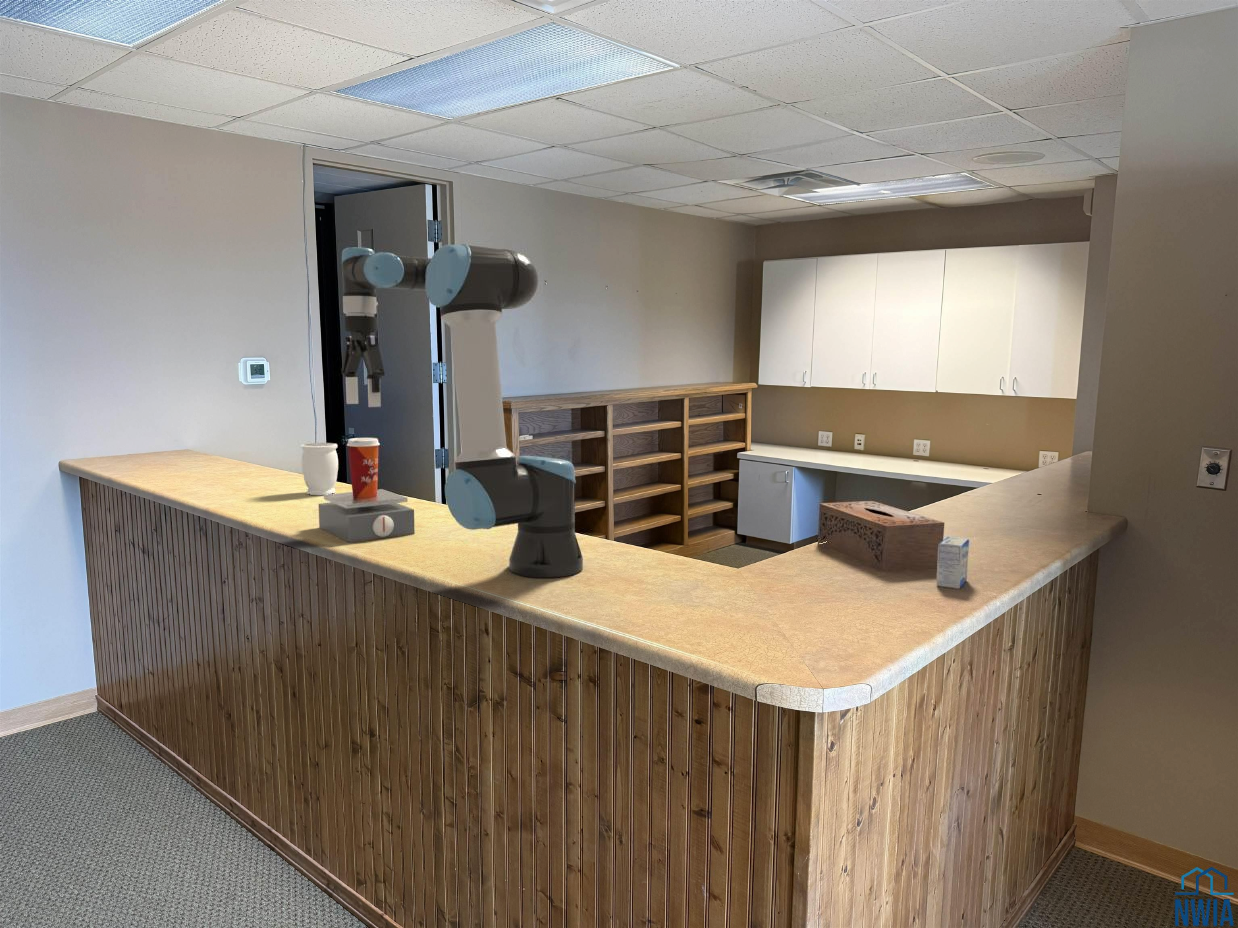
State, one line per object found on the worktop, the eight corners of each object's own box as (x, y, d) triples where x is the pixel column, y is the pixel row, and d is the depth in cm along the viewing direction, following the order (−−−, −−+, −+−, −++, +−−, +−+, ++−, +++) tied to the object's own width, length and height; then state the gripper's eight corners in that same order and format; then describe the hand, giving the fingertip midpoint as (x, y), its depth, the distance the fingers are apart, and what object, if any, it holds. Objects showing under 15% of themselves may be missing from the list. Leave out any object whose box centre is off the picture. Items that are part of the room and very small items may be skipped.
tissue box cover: (941, 568, 179) (944, 522, 177) (883, 573, 174) (886, 526, 173) (869, 541, 203) (872, 500, 202) (817, 544, 199) (819, 503, 197)
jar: (331, 496, 250) (330, 446, 248) (297, 496, 250) (295, 446, 248) (343, 490, 260) (342, 442, 258) (310, 490, 260) (309, 442, 258)
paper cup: (371, 499, 200) (370, 441, 198) (342, 498, 201) (340, 440, 199) (387, 494, 207) (385, 437, 205) (358, 492, 209) (356, 436, 207)
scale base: (415, 534, 202) (415, 509, 201) (351, 543, 192) (350, 517, 191) (380, 519, 218) (380, 497, 217) (319, 527, 208) (318, 503, 207)
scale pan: (407, 506, 203) (407, 497, 203) (347, 513, 194) (346, 504, 194) (382, 497, 215) (382, 489, 215) (324, 503, 206) (323, 494, 205)
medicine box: (959, 589, 162) (962, 546, 161) (935, 586, 164) (938, 542, 163) (966, 580, 169) (970, 538, 167) (943, 577, 171) (946, 535, 170)
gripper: (397, 314, 191) (400, 407, 194) (355, 317, 210) (358, 402, 213) (365, 313, 186) (368, 408, 189) (325, 316, 205) (329, 403, 208)
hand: (363, 405), depth 201 cm, fingers open, 13 cm apart
